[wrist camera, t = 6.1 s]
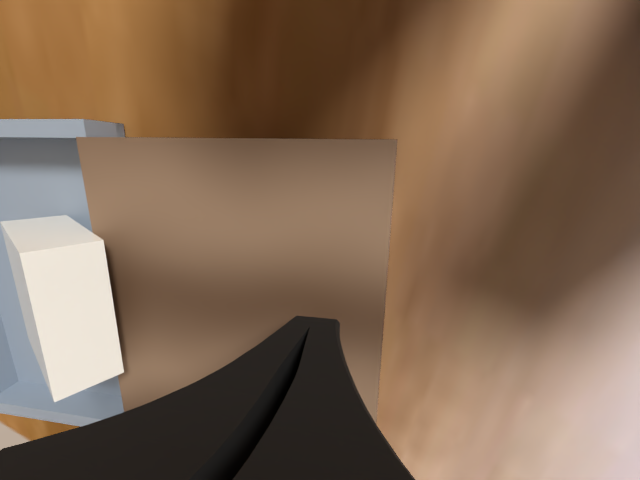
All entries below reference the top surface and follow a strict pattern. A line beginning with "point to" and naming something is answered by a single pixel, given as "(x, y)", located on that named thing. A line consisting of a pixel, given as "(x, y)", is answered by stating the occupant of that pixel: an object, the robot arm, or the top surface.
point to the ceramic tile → (65, 301)
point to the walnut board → (239, 249)
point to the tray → (3, 303)
